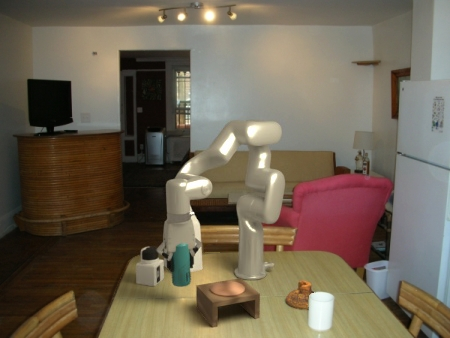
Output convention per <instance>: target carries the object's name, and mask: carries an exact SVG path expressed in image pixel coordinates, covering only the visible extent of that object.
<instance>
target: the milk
mask: <svg viewBox="0 0 450 338" xmlns="http://www.w3.org/2000/svg"><path fill="white" fill-rule="evenodd" d="M190 211H192V212H193V209H192V206H191V205H190ZM191 219H192V221H193V226H194V231H195V238H197V239H198V240H199V241H200V242H201V243H202V235H201V224H200V221H199V220H198V219H197V216H196V215H195V214H194V215H193V216H191ZM165 221H167V219H166V220H165ZM195 246H196V245H195ZM202 249H203V248H202V246H201V247H200V248H199V250H198V251H197V253H196V254H195V256H194V265H193V268H190V273H192V272H197V271H198V272H199V271H201V270H204V269H203V253H202V252H203V250H202ZM163 252H165V253H166V252H167V249H165V248H164V249H163ZM163 261H164V268H166V269H167V259H166V258H164V257H163ZM167 270H168V271H170V270H169V269H167Z"/></svg>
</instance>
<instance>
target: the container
mask: <svg viewBox="0 0 450 338" xmlns="http://www.w3.org/2000/svg"><path fill="white" fill-rule="evenodd" d="M157 248H158V247H156V246H145V247H142V248H141V250H140V261H138V262H137V263H135V283H136V285H142V286H149V287H156V286H157V285H159V284H160V283H161V282H162V281H163V280H164V279H165V274H164V273H165V271H164V268H165V266H164V259H160V257H159V256H160V253H158V252H157Z"/></svg>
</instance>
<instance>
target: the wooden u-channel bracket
mask: <svg viewBox="0 0 450 338" xmlns="http://www.w3.org/2000/svg"><path fill="white" fill-rule="evenodd" d="M195 286H196V287H195V288H196V289H195V290H196V292H195V293H196V294H195V295H196V296H195V297H196V301H195V302H196V304H195V305H196V306H195V307H196V308H195V309H196V310H197V312H198V313H200V315H201V316H202V317H203V319H205V320H206V322H207V323H208V324H209V325H210V326H211V327H212V328H216V327H218V317H219V316H218V312H219V311H218V309H219V308H218V307H223V306H229V305H233V304H234V305H235V304H238V305H240V306H241V308H243V309H244V310H245V311H246V312H247V313H248V314H249V315H250V316H251V317H252V318H254V319H255V320H256V319H260V317H261V316H260V314H261V313H260V311H261V310H260V309H261V306H260V304H261V293H260V292H258V291H257V290H256V289H254V287H252V286H251V284H248V283H247V282H246V280H245V279H242V278H239V277H237V278H232V279H227V280H221V281H216V282H210V283H209V282H208V283H204V284H203V283H201V284H198V285H197V284H196V285H195Z"/></svg>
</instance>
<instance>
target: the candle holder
mask: <svg viewBox="0 0 450 338" xmlns="http://www.w3.org/2000/svg"><path fill="white" fill-rule="evenodd" d="M297 286H298V288H296V289H294V290H292V291H290V292H289V293H288V294H287V296H286V298H285V300H286V303H287V305H288V306H289V307H291V308H293V309H294V308H295V309H297V308H299V309H298V310H302V309H308V299H309V295H310V294H311V293H314V292H315V291H314V290H312V283H311V282H310V281H307V280H300V281H299V282H298V283H297Z"/></svg>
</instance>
